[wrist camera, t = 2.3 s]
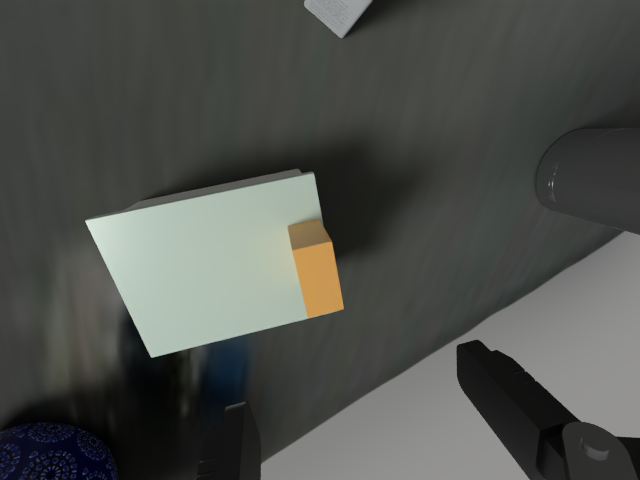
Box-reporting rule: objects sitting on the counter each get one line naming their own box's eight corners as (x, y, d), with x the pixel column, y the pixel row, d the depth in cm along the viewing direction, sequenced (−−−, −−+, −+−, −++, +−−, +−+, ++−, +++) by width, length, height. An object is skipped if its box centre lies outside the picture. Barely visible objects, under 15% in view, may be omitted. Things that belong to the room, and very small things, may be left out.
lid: (309, 169, 24) (326, 184, 18) (334, 297, 29) (354, 348, 22) (101, 212, 23) (32, 246, 16) (160, 340, 27) (124, 409, 20)
